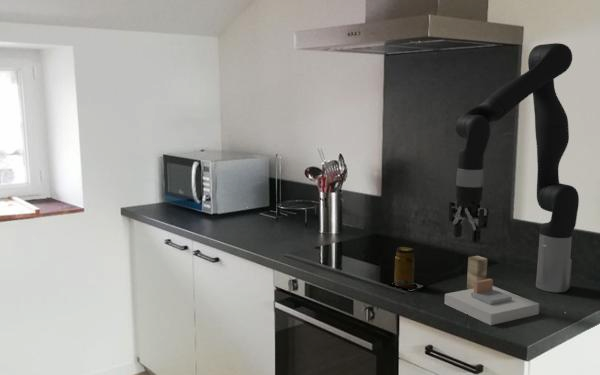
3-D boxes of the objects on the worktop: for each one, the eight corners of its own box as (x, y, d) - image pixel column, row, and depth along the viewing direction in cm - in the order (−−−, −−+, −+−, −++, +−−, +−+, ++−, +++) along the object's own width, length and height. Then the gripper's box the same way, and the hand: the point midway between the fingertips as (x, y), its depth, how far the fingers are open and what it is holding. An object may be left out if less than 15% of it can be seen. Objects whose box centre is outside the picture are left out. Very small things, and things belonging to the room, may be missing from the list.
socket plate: (490, 294, 182) (490, 285, 181) (538, 314, 166) (539, 303, 166) (444, 303, 173) (444, 293, 173) (490, 325, 158) (491, 314, 157)
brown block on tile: (491, 292, 174) (492, 278, 174) (511, 300, 168) (512, 285, 167) (470, 296, 171) (471, 281, 170) (490, 304, 164) (491, 289, 163)
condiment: (401, 280, 195) (402, 244, 193) (423, 286, 189) (425, 249, 187) (388, 285, 189) (389, 248, 188) (411, 292, 184) (412, 254, 182)
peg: (476, 286, 190) (478, 255, 188) (485, 289, 186) (487, 258, 185) (466, 288, 188) (468, 257, 186) (475, 291, 184) (477, 260, 183)
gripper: (497, 186, 169) (494, 243, 172) (461, 180, 182) (459, 233, 185) (477, 188, 166) (474, 246, 168) (442, 181, 178) (440, 235, 181)
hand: (466, 239), depth 176 cm, fingers open, 7 cm apart
